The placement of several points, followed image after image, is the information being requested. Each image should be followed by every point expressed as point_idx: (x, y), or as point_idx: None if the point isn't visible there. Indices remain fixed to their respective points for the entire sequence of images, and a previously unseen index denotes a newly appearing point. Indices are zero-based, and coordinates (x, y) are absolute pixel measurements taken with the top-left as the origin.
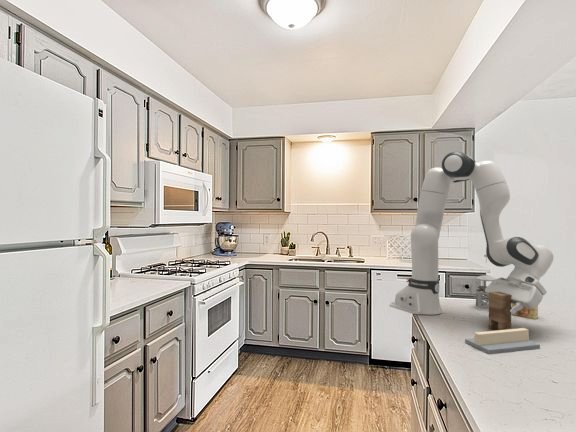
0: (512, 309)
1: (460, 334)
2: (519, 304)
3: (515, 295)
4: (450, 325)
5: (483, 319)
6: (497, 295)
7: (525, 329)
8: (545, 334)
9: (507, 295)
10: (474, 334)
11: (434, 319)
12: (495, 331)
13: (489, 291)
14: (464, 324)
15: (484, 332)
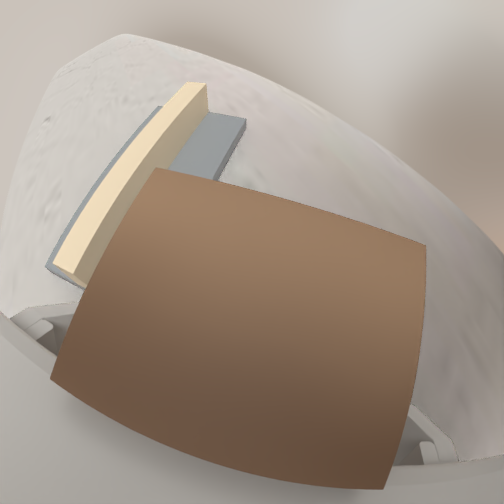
0: None
1: (309, 176)
2: (23, 313)
3: (9, 391)
4: None
5: None
6: (235, 198)
7: (63, 255)
8: None
9: (90, 287)
10: (206, 88)
11: (474, 259)
12: (157, 129)
13: (498, 464)
14: None
15: (183, 100)
